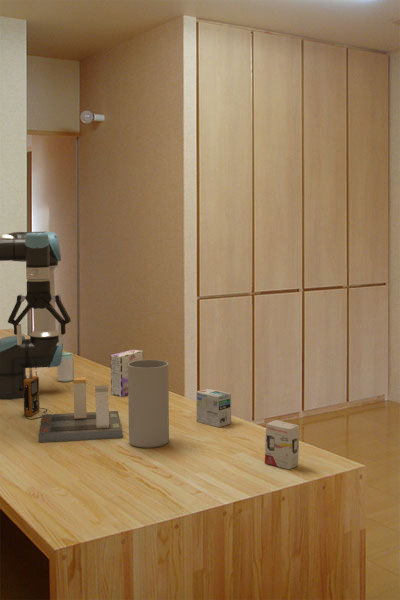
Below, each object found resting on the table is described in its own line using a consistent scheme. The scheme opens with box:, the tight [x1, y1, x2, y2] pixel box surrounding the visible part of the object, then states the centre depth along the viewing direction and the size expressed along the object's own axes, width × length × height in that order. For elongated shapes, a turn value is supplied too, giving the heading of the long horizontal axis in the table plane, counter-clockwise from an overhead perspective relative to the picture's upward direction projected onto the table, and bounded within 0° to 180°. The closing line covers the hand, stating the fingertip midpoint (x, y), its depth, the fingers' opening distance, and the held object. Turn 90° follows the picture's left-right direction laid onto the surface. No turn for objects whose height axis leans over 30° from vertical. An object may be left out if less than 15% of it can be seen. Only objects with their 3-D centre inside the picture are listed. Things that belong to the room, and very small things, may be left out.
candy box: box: [110, 349, 144, 398], centre depth 280 cm, size 14×6×16 cm, turn 144°
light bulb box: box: [196, 388, 232, 428], centre depth 238 cm, size 11×7×11 cm, turn 47°
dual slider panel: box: [38, 384, 123, 444], centre depth 231 cm, size 23×26×16 cm
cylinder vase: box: [127, 359, 170, 449], centre depth 217 cm, size 12×12×25 cm
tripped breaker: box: [73, 376, 87, 419], centre depth 236 cm, size 4×4×13 cm
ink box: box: [264, 419, 301, 470], centre depth 197 cm, size 9×5×12 cm, turn 50°
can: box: [56, 351, 75, 383], centre depth 302 cm, size 7×7×12 cm
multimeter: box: [23, 358, 49, 421], centre depth 249 cm, size 15×10×20 cm
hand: (40, 344), depth 229 cm, fingers open, 13 cm apart
